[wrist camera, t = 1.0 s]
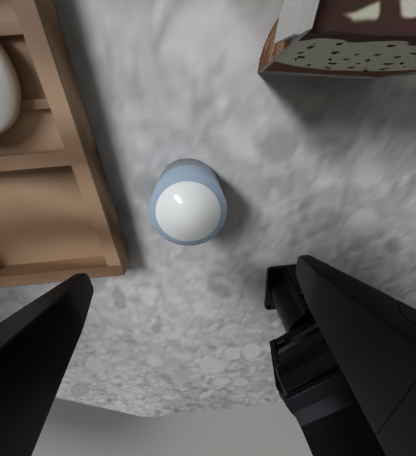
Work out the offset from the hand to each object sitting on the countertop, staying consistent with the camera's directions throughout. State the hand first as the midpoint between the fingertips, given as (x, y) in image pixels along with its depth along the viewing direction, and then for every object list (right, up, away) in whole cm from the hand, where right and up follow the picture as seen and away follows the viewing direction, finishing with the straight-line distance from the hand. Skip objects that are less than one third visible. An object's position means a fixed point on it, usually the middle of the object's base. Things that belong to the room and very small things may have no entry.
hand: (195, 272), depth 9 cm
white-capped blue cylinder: (-1, +5, +11) cm, 12 cm away
